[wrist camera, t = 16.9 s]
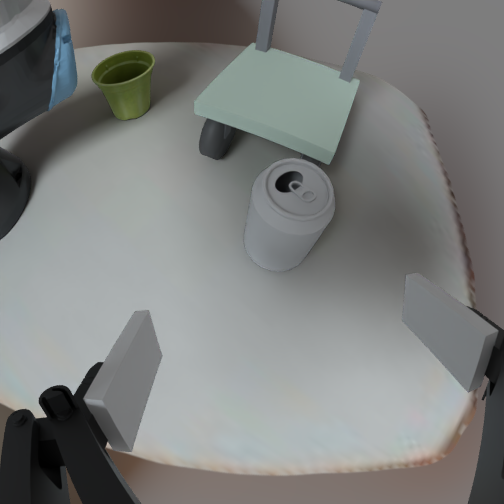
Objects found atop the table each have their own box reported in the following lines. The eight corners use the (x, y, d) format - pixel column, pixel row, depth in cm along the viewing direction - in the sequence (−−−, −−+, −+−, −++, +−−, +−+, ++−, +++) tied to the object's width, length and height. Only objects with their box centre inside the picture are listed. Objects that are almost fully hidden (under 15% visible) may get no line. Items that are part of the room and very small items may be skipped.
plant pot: (133, 85, 45) (125, 45, 37) (172, 100, 44) (168, 57, 36) (93, 117, 41) (79, 77, 33) (132, 136, 40) (119, 91, 32)
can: (277, 204, 38) (298, 138, 27) (319, 248, 36) (358, 194, 25) (229, 238, 36) (234, 177, 24) (273, 287, 34) (298, 244, 23)
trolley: (193, 162, 39) (184, -1, 18) (248, 89, 46) (265, -36, 25) (307, 209, 38) (382, 54, 17) (340, 124, 45) (392, 3, 24)
